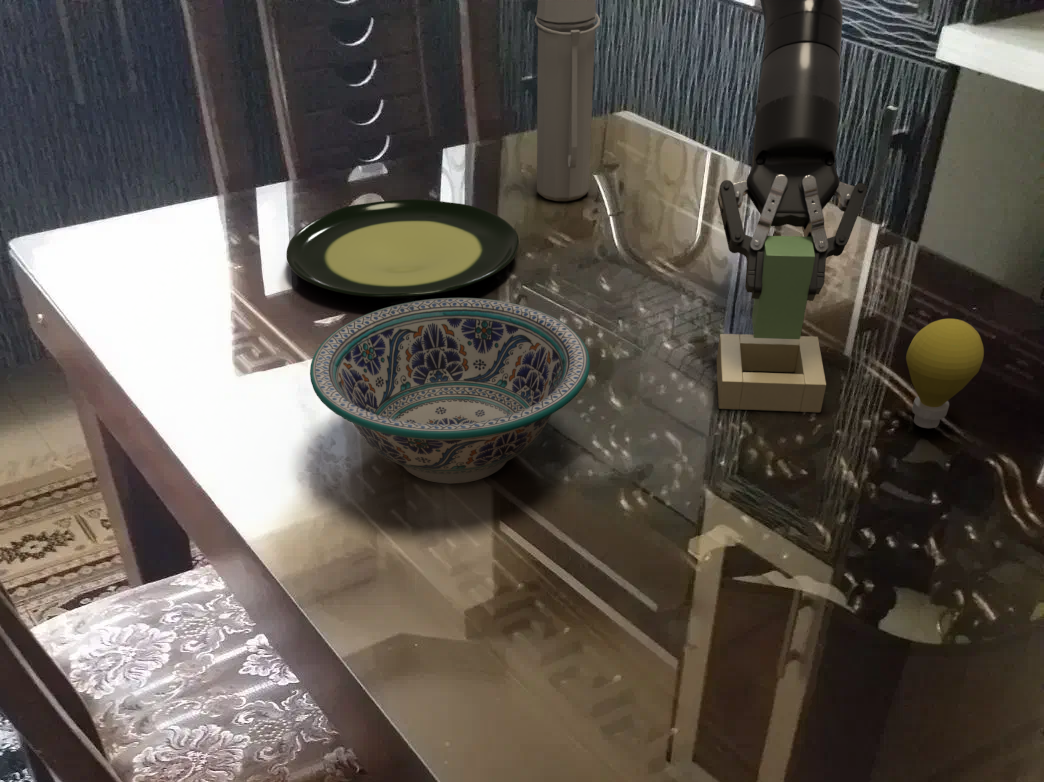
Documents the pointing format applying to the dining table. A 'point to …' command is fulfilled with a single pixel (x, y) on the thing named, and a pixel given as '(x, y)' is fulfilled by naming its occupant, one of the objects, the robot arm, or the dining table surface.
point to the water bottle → (565, 96)
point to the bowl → (450, 382)
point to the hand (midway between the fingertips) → (783, 296)
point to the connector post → (783, 287)
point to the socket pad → (770, 388)
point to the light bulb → (942, 366)
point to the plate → (402, 248)
